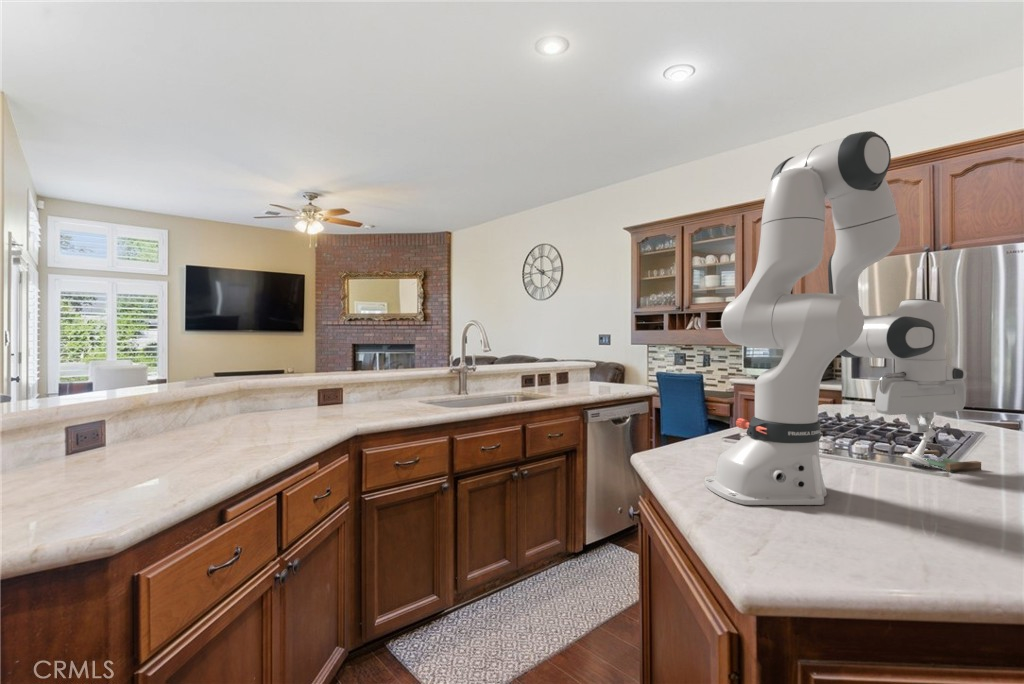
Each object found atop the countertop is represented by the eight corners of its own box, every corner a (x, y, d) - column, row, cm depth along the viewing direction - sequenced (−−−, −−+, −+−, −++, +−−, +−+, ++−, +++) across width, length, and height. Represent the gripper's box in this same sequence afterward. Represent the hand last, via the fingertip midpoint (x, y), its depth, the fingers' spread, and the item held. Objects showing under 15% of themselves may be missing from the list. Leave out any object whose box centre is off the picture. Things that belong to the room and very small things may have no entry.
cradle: (950, 472, 105) (950, 464, 105) (906, 459, 115) (906, 452, 115) (981, 470, 106) (981, 462, 106) (935, 457, 116) (935, 450, 116)
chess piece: (934, 468, 107) (952, 427, 107) (910, 457, 108) (929, 417, 108) (919, 465, 111) (937, 426, 112) (897, 455, 112) (914, 416, 113)
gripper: (893, 374, 104) (892, 438, 105) (973, 371, 107) (971, 432, 108) (867, 371, 110) (866, 431, 111) (943, 368, 113) (942, 426, 114)
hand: (919, 432), depth 109 cm, fingers closed
